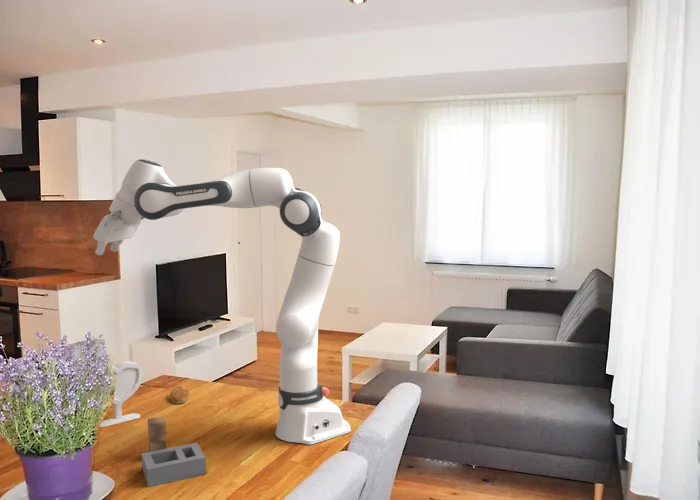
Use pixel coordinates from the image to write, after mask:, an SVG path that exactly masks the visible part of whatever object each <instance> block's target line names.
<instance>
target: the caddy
mask: <svg viewBox="0 0 700 500" xmlns="http://www.w3.org/2000/svg"><path fill="white" fill-rule="evenodd" d="M206 461H207V457H206V455H205V454H204V452H203V451H202V448H201V447H200V445H199V443H198V442H194V443H187V444H183V445H178V446H177V445H176V446H171V447H166V449H161V450H156V451H151V452H149V451H147V452H142V453H141V468H142V469H141V470H142V473H143V475H144V479H145V481H146V485H147V487H148V488H149V487H154V486H158V485H164V484H167V483H172V482H173V483H174V482H177V481H181V480H187V479H191V478H195V477H199V476H205V475H207V463H206Z"/></svg>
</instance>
